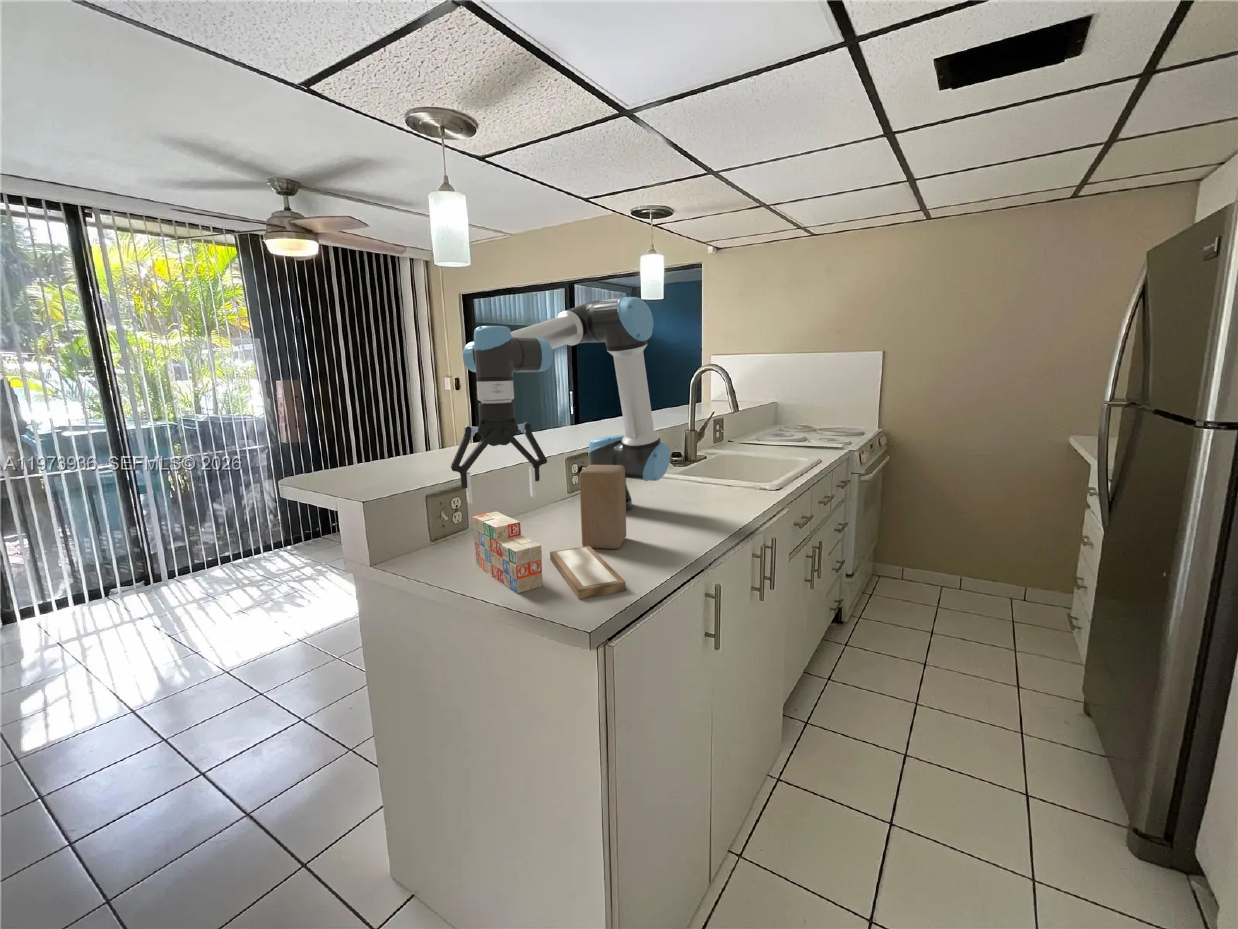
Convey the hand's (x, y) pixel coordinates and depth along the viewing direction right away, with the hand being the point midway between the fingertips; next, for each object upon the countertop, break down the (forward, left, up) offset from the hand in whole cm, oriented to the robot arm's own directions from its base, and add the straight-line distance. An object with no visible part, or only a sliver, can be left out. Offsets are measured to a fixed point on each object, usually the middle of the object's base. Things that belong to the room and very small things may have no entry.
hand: (502, 499), depth 117 cm
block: (-27, -11, -18) cm, 34 cm away
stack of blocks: (0, 0, -18) cm, 18 cm away
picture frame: (-16, +7, -17) cm, 25 cm away
